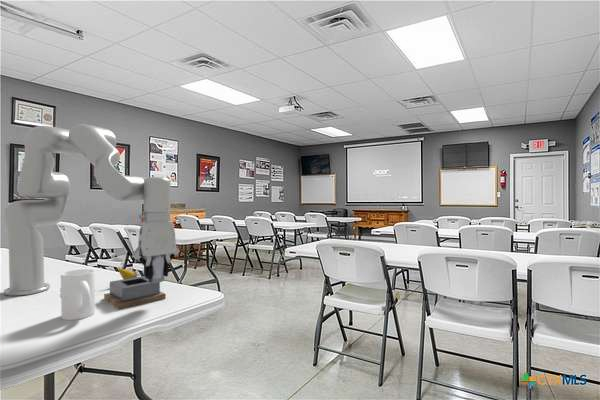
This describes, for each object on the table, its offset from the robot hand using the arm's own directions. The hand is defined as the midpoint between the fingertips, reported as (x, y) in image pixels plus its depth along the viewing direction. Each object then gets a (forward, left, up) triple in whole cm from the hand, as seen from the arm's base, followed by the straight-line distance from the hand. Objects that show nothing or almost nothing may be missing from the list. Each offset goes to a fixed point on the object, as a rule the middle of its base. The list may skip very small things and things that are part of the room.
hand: (156, 276), depth 106 cm
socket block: (-11, -3, -7) cm, 13 cm away
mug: (-4, -19, -9) cm, 22 cm away
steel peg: (0, 0, -1) cm, 1 cm away
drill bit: (-31, +2, -9) cm, 32 cm away
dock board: (-11, -3, -9) cm, 14 cm away
